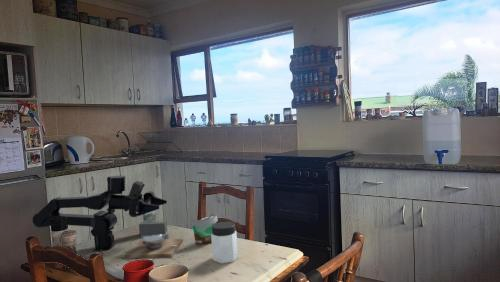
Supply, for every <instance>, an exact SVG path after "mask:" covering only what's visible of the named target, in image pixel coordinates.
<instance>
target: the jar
mask: <svg viewBox="0 0 500 282" xmlns="http://www.w3.org/2000/svg"><path fill="white" fill-rule="evenodd" d="M237 235H238V234H237V230H236V224H235V223H234V222H231V221H220V222H216V224H213V225H212V234H211V242H212V243H211V254H212V255H211V256H212V261H214V262H216V263H219V264H228V263H233V262H235V261H236V259H238V257H239V253H238V252H239V251H238V237H237Z"/></svg>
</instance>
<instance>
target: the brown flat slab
mask: <svg viewBox="0 0 500 282" xmlns="http://www.w3.org/2000/svg"><path fill="white" fill-rule="evenodd" d="M183 239H184V238H172V239H171V238H170V239H169V238H168V239H166V240H165V241H164V242H162V243H159V244H154V245H145V244H143V243H142V239H140V240H138V241H137V242H136V243H135V244H134V245H133V246H131V247H130V248H129V249H128V250H127V251H126V252H125V253H124V254H123V255H122V256H123V259H143V258H144V259H146V258H148V259H149V258H153V259H154V258H173V256H174V255H175V254H176V252H177V250H179V248H180V247H181V245H182V244H183V243H184V240H183Z"/></svg>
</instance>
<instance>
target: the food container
mask: <svg viewBox="0 0 500 282" xmlns="http://www.w3.org/2000/svg"><path fill="white" fill-rule="evenodd" d="M218 219H219V218H218V216H217V214H216V213H213V212H211V215H209V216H205V217H201V218H200V219H197V220H195V219H192V220H191V226H192V230H193V235H194V236H193V237H194V243H195V245H197V246H199V245H200V246H203V245H209V244H212V242H211V234H212V225H213V224H216V223H218V221H219V220H218Z"/></svg>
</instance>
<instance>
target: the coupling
mask: <svg viewBox="0 0 500 282" xmlns="http://www.w3.org/2000/svg"><path fill="white" fill-rule="evenodd" d="M138 228H139V231H138V232H139V235H140V236H141V240H142V243H143V244H145V245H154V244H159V243H162V242H164V241H165V240H166V239H169V237H170V236H169V233H168V225H167V221H156V222H140V223H138Z"/></svg>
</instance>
